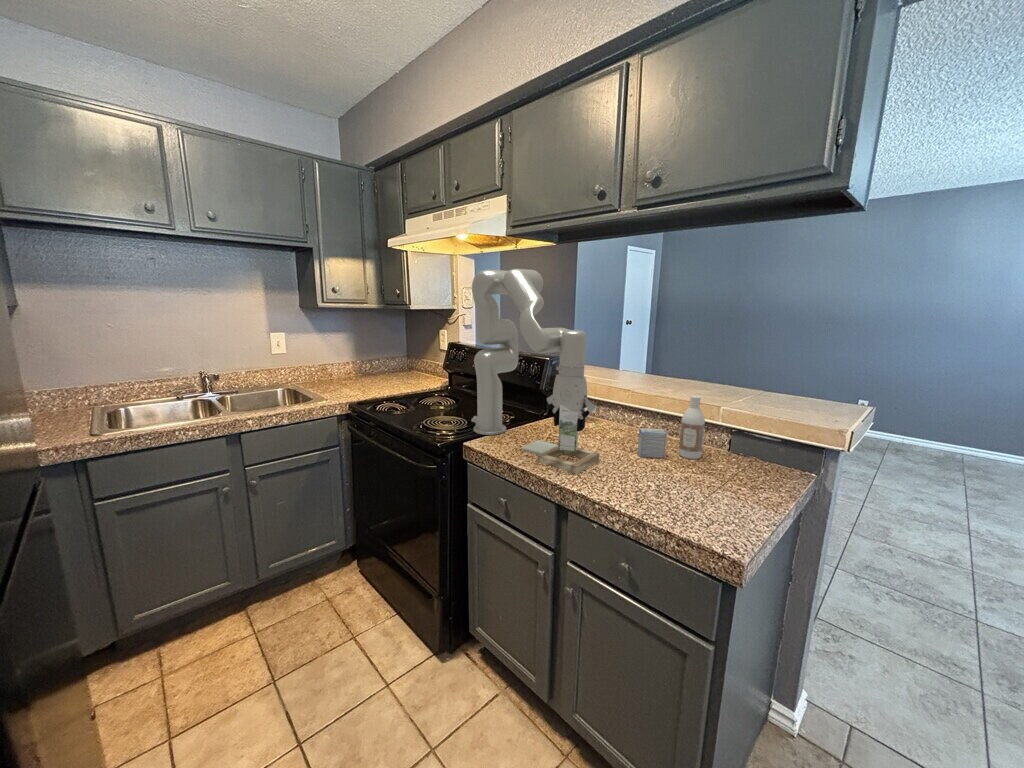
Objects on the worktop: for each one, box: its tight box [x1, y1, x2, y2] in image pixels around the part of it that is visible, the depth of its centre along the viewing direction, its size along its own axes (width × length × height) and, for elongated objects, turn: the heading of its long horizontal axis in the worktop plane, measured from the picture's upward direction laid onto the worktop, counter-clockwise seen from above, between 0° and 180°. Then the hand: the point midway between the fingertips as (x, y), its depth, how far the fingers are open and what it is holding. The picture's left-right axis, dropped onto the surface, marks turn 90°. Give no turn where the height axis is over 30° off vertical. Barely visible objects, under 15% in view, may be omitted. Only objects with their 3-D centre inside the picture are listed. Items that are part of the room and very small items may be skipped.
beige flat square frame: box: [537, 446, 600, 475], centre depth 131 cm, size 14×14×2 cm
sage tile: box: [520, 439, 558, 455], centre depth 142 cm, size 10×10×1 cm
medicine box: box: [637, 427, 668, 459], centre depth 137 cm, size 8×4×9 cm, turn 84°
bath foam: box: [678, 395, 706, 460], centre depth 136 cm, size 7×7×20 cm
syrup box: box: [557, 405, 579, 452], centre depth 130 cm, size 6×6×14 cm
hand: (568, 427), depth 130 cm, fingers closed on syrup box, 7 cm apart
